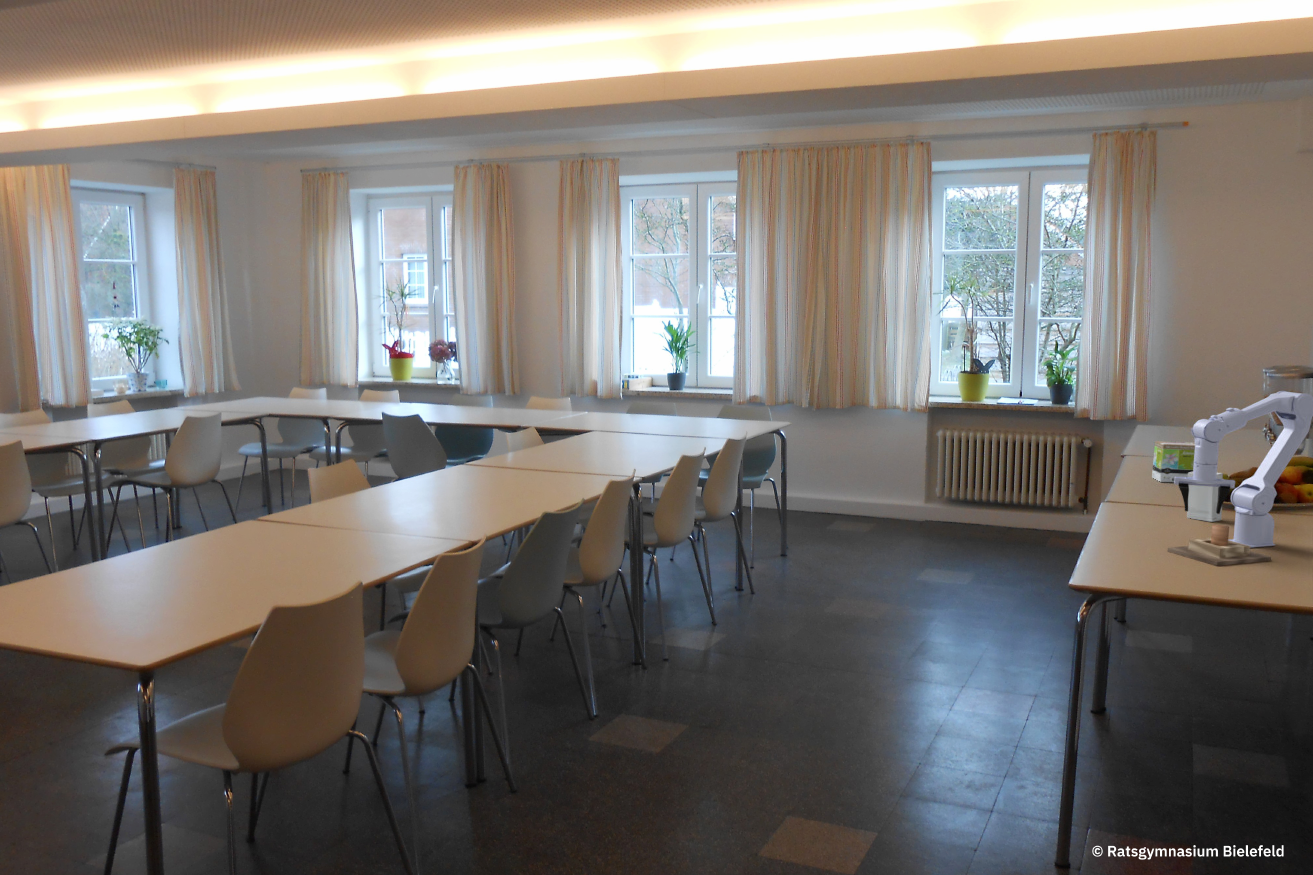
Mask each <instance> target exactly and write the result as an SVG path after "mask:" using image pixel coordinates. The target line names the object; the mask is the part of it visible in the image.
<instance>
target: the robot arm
mask: <svg viewBox="0 0 1313 875" xmlns="http://www.w3.org/2000/svg"><path fill="white" fill-rule="evenodd" d="M1225 410H1226V411H1223V412H1222V413H1219V414H1212V415H1210V418H1208V419H1207V418H1202V419H1199V420H1197V421H1196V422H1195V423H1194V424H1193V426H1192V428H1190V433H1191V435H1192V437H1193V438H1194V443H1195V453H1194V467H1193V477H1175V479H1174V482H1173V484H1174V485H1177V486H1178V488H1179V490H1180V493H1181V496H1182V500H1183V504H1184V512H1187V511H1188V496H1189V485H1197V486H1212V487H1219V488H1218V502H1217V508H1216V513H1217V514H1220V510H1221V507H1222V508H1223V504H1224V502H1225V500H1226V499H1227V497H1228V495H1229V494H1230V492H1231V489H1233V490H1232V492H1231V495H1230V502H1231V504H1232V506H1234V511H1235V517H1234V518H1235V519H1234V527H1233V528H1234V529H1233V530H1234V531H1233V538H1232V539H1228V540H1229V541H1233V542H1237V543H1241V544H1245V545H1248V546H1250V549H1251V548H1262V547H1263V548H1264V547H1272V546H1276V543H1274V532H1275V519H1274V517H1273V516H1272V514H1270V513H1269V512H1270V511H1271V510H1272V508H1273V506H1274V501H1275V498H1276V496H1277V495H1278V493H1277V491H1276V488H1275V484H1276V483H1277V481H1278V480H1279V479H1280V477H1281V475H1282V474H1283V472H1284V471H1285V469H1286V468H1287V465H1288V464H1289V463H1290V461H1291V460H1292V458H1293V456H1294V455H1295V454H1296V452H1297V450H1298V448H1300V446H1301V444H1302V443H1303V442H1304V440H1305V438H1306V436H1307V435H1308V434H1309V431H1310V428H1311V425H1312V424H1311V423H1312V420H1313V419H1312V418H1313V395H1312V394H1310V393H1305V392H1304V393H1300V392H1292V391H1291V392H1290V391H1286V390H1280V391H1277V392H1276V393H1271V394H1269V396H1267V397H1266V398H1263V399H1261V400H1259V401H1257V402H1255V403H1252V404H1250V405H1248V406H1246V407H1244V408H1242V409H1239V408H1238V407H1228V408H1225ZM1271 413H1275V414H1276V416H1277V417H1278V419H1279V421H1280V422H1281V423H1282V425H1283V430H1282V431H1281V432H1280V434H1279V435H1278V437H1277V438H1276V441H1275V442H1274V443H1273V445H1272V446H1271V448H1270V449H1269V451H1268V452H1267V454H1266V455H1265V456H1264V458H1263V460H1262V461H1261V463H1260V465H1259V466H1258V468H1257V469H1256V471H1255V472H1254V474H1253V475H1252V476H1251V477H1249V478H1246V479H1244V480H1242V482H1241V484H1240V485H1239V486H1237V487H1235V485H1236V481H1235V480H1233V479H1224V478H1223V479H1216V477H1217V473H1218V461H1219V448H1220V441H1222V440H1223V439H1224V437H1225V435H1227V434H1230V433H1232V432H1235V431H1238V430H1240V429H1243V428H1244V427H1246V425H1247V423H1248V421H1251V420H1254V419H1257V418H1259V417H1263V416H1265V415H1268V414H1271ZM1198 483H1204V484H1198ZM1213 484H1214V485H1213Z"/></svg>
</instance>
